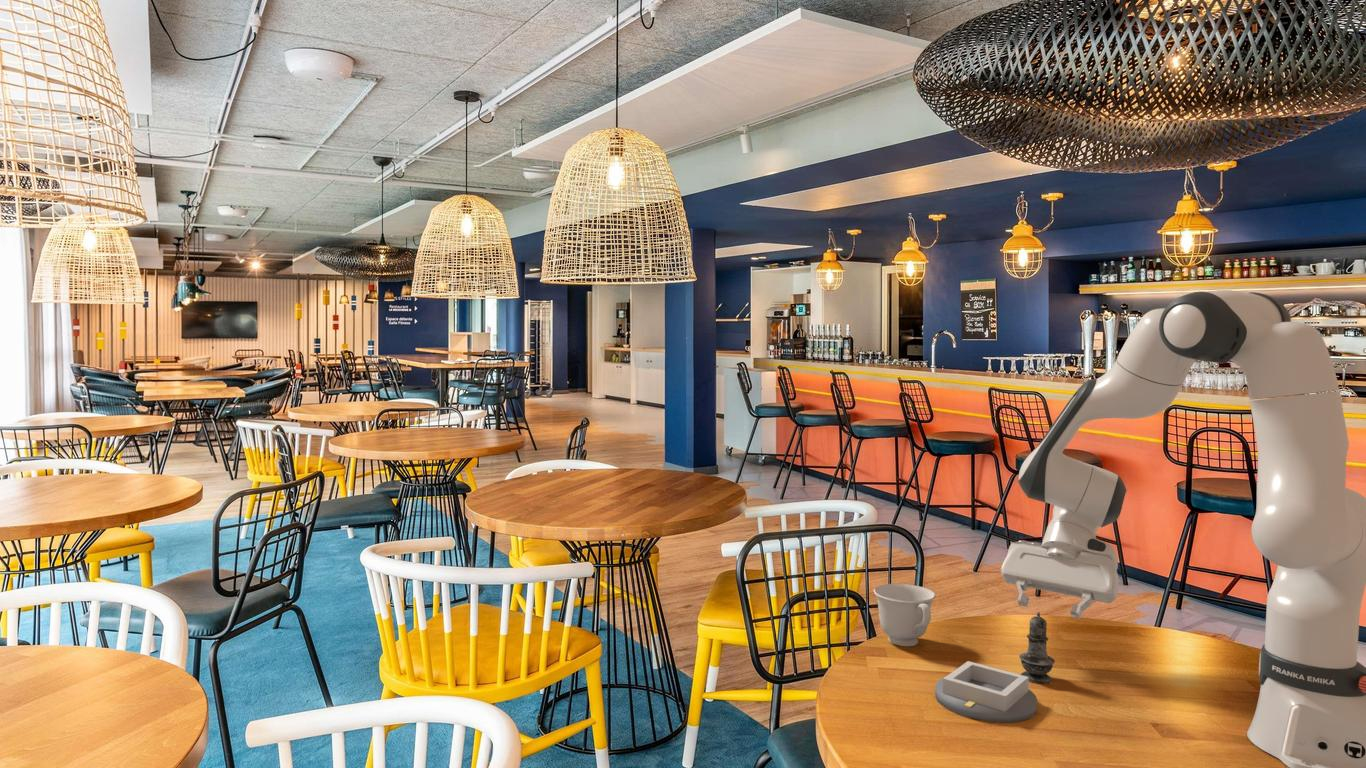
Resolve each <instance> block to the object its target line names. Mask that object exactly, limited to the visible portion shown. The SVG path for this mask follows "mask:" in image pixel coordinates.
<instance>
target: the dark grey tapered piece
mask: <svg viewBox="0 0 1366 768" xmlns="http://www.w3.org/2000/svg"><path fill="white" fill-rule="evenodd" d="M1047 627H1048V622H1047V621H1046V619H1045V618H1044V617H1042V616H1041V613H1040V612H1039V611H1038V612H1037V613H1036V616H1033V617H1031V618H1030V619H1029V631H1028V634H1027V635H1026V637H1027V639H1028V648H1027V651H1026V652H1022V653H1020V654H1019V655H1018V657H1019V659H1020V662H1021V665H1022V668H1023V669H1024V670H1025V671H1023V672H1021V673H1020V675H1023V676H1027V677H1029V680H1028V683H1032V684H1037V685H1046V684H1047V685H1048V684H1051V683H1052V682H1053V678H1052V677H1051V676H1050V675H1049V674H1048V673H1050V672H1051V671H1052V670H1053V665H1054V664H1055V661H1056V660H1055V658H1053V657H1052V656H1050V655H1048V652H1047V641H1049V637H1047Z"/></svg>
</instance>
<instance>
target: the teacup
mask: <svg viewBox="0 0 1366 768" xmlns="http://www.w3.org/2000/svg"><path fill="white" fill-rule="evenodd" d="M873 593H874V595H875V596H876V600H877V608H878V618H879V625H880V628H881V629H882V631H883V632H884V633H885V634H886V635H888V641H889V643H891V644H893V645H895V646H899V647H912V646H916V645H918V643H919V642H918V641H919V640H918V638H919V639H920V638H921V637H922V636H924V635H925V633H926V632H927V629H928V626H929V624H930V623H931V616H932V613H931V607H932V603H933V601H934V599H936V593H935V592H933V590H930V589H929V588H926V587H923V586H920V585H914V584H908V583H888V584H881V585H878V586H876V587H874V589H873Z"/></svg>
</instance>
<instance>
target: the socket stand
mask: <svg viewBox="0 0 1366 768" xmlns="http://www.w3.org/2000/svg"><path fill="white" fill-rule="evenodd" d="M1028 680H1029V677H1027V676H1023V675H1021V674H1018V673H1015V672H1012V671H1007V670H1002V669H999V668H996V667H991V666H989V665H988V666H987V665H985V664H981V663H976V662H974V661H973V662H972V661H971V660H970V661H969V660H967V661H966V662H964V663H963V664H962V665H961V666H959V667H957V669H955V670H953V671H952V672H950V673H949V674H947V675H946V676H944V677H942V678H940V679H938V680H937V682H936V683H935V691H934V692H935V694H934V695H935V696H934V697H935V699H936V700H937V702H938V703H939V704H940V705H941V706H942V707H943V708H945V709H947V710H949V711H950V712H952V713H954V712H955V713H954V714H957V715H959V714H960V715H959V716H962V717H966V718H968V717H969V719H972V718H973V720H976V719H977V720H978V721H981V720H983V721H982V722H987V721H989V722H988V723H997V722H998V724H999V723H1000V724H1003V723H1005V724H1007V723H1009V724H1011V723H1019V722H1023V721H1024V722H1025V721H1027V720H1029V719H1031V718H1033V717H1034V716H1035V715H1036V714H1037V711H1038V698H1037V695H1036V694H1035V693H1034V692H1033V691H1032V690H1030V689H1029V682H1028ZM977 720H976V721H977Z"/></svg>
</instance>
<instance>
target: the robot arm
mask: <svg viewBox="0 0 1366 768" xmlns="http://www.w3.org/2000/svg"><path fill="white" fill-rule="evenodd" d="M1196 361H1201V362H1202V361H1203V362H1210V363H1216V364H1226V363H1228V362H1229V361H1230V362H1232V363H1234V364H1236V365H1237V366H1238V367H1239V368H1240V369H1241V370H1242V372H1243V374H1244V376H1245V380H1246V385H1247V391H1248V397H1249V403H1250V409H1251V416H1252V422H1253V423H1252V424H1253V430H1254V434H1255V440H1256V449H1257V478H1256V509H1255V515H1254V518H1253V521H1252V524H1251V536H1252V541H1253V544H1254V545H1255V547H1256V549H1257V550H1258V551H1259V552H1260V554H1261V555H1262V556H1263V557H1265V558H1266V559H1267V560H1268V561H1269V562H1271V563H1273V564H1275V565H1276V566H1277V568H1276V572H1275V575H1274V579H1273V580H1272V581H1273V582H1272V584H1271V587H1270V588H1269V591H1268V592H1267V597H1266V611H1265V613H1266V615H1265V628H1264V629H1265V631H1264V634H1265V635H1264V644H1262V647H1261V649H1260V652H1259V661H1258V677H1259V683H1260V689H1259V695H1258V701H1257V704H1256V707H1255V708H1256V709H1255V712H1254V714H1253V716H1252V717H1253V718H1252V721H1251V723H1250V725H1249V728H1248V729H1247V731H1246V732H1247V733H1246V735H1247V738H1248V740H1249V741H1250V742H1251V743H1252V744H1254V745H1255V746H1256V747H1257V748H1258V749H1261V750H1262V751H1264V752H1266V753H1268V754H1270V755H1271V756H1273V757H1275V758H1277V759H1278V760H1280V761H1281V762H1282V763H1283V764H1284V765H1286V767H1288V768H1366V666H1364V665H1363V664H1362V663H1360V662H1359V661H1358V646H1359V645H1358V644H1359V633H1360V631H1359V630H1360V616H1361V615H1360V614H1361V608H1362V601H1363V597H1364V593H1365V589H1366V497H1365V496H1364V495H1362V494H1361V493H1359V492H1358V491H1355V490H1353V489H1350V488H1347V487H1346V479H1347V478H1346V474H1347V473H1346V471H1347V469H1346V468H1347V457H1348V451H1349V447H1350V446H1349V445H1350V441H1349V437H1348V429H1347V424H1346V420H1345V415H1344V408H1343V403H1342V398H1341V391H1340V387H1339V381H1338V378H1337V375H1336V374H1337V373H1336V370H1335V367H1334V364H1333V360H1332V358H1331V355H1330V352H1329V350H1328V347H1327V344H1326V343H1325V340H1324V338H1323V336H1322V334H1321V332H1320V331H1319V330H1318V329H1317V328H1315V327H1314V326H1312V325H1310V324H1306V323H1303V322H1297V321H1292V320H1291V315H1290V312H1289V311H1288V309H1287V307H1286V306H1285V305H1284V304H1283V303H1282V302H1281V301H1280V300H1277V299H1276V298H1275V297H1273V296H1270V295H1267V294H1265V293H1260V292H1254V291H1253V292H1252V291H1251V292H1244V291H1236V290H1229V289H1224V290H1223V289H1222V290H1212V291H1210V290H1209V291H1193V292H1191V293H1190V292H1189V293H1187V294H1184V295H1182V296H1179V297H1177V298H1176V299H1174V300H1172V301H1171V302H1170V303H1169V304H1168V305H1167V306H1166V307H1163V308H1155V309H1151V310H1149V311H1147V312H1146V313H1145V314H1143V316H1142V317H1141V318H1140V320H1139V321H1138V322H1137V323H1136V325H1135V326H1134V327H1133V329H1132V331H1131V332H1130V334H1129V335H1128V337H1127V339H1125V342H1124V344H1123V346H1122V347H1121V349H1120V352H1119V354H1118V355H1117V358H1116V359H1115V362H1114V364H1113V365H1112V366H1111V368H1109V369H1108V370H1107V372H1105V373H1104V374H1103V375H1101V376H1100V377H1098V378H1094V379H1093V378H1092V379H1091V378H1090V379H1088V380H1086V381H1085V382H1084V383H1082V385H1080V386H1079V388H1078V389H1077V390H1076V392H1075V393H1074V394H1073V395H1072V396H1071V398H1070V400H1068V402H1067V403H1066V405H1065V406H1064V408H1063V409H1062V410H1061V412H1060V413H1059V414H1058V416H1057V417H1056V419H1055V420H1054V422H1053V424H1052V425H1051V426H1050V427H1049V429H1048V431H1047V432H1046V433H1045V434H1044V436H1043V438H1042V439H1041V440H1040V441H1039V443H1038V444H1037V446H1036V447H1035V448H1034V449H1033V451H1031V452H1030V453H1029V454H1028V456H1027V457H1026V458H1025V460H1024V461H1023V463H1022V464H1021V467H1020V468H1019V472H1018V479H1017V482H1018V484H1019V487H1020V489H1021V490H1022V491H1023V493H1024V495H1025V496H1026V497H1027V498H1028V499H1032V500H1034V501H1038V502H1041V503H1044V504H1045V503H1047V504H1050V505H1052V506H1053V509H1052V519H1051V520H1050V522H1049V523H1048V524H1047V527H1046V531H1045V533H1044V536H1043V540H1042V542H1037V541H1029V540H1028V541H1027V540H1024V539H1020V540H1018V541H1014V542H1012V543H1011V544H1010V545H1009V547H1008V550H1007V554H1006V557H1005V558H1004V560H1003V563H1002V565H1001V567H1000V574H1001V577H1003V579H1004V581H1005V583H1007V584H1009V585H1015V586H1016V587H1017V591H1018V594H1019V595H1018V597H1017V604H1018V606H1021V607H1025V608H1027V607H1028V605H1029V602H1030V598H1029V595H1028V594H1027V593H1024V592H1026V591H1027V589H1028V588H1031V589H1036V590H1039V591H1045V592H1051V593H1056V594H1059V595H1060V594H1061V595H1066V596H1070V597H1075V598H1081V599H1082V600H1081V601H1080V602H1078V604H1074V603H1072V606H1071V609H1070V615H1071V617H1073V618H1077V619H1082V616H1083V615H1082V614H1083V612H1084V611H1085V610H1087V609H1088V608H1089V607H1091V606H1092V605H1093V601H1095V602H1100V603H1105V604H1112V603H1113V602H1114V601H1116V600H1117V596H1118V592H1119V584H1120V583H1119V580H1120V579H1119V574H1118V571H1117V570H1118V567H1119V564H1118V563H1119V562H1118V557H1117V554H1116V552H1115V549H1114V547H1113V546H1112V545H1111V544H1110V543H1108V542H1106V541H1102V540H1100V539H1098V538H1097V532H1098V529H1099V528H1103V527H1106V526H1108V525H1111V524H1113V523H1114V522H1116V521H1117V520H1118V519H1119V517H1120V515H1121V513H1122V509H1123V505H1124V502H1125V501H1124V500H1125V496H1126V494H1127V492H1128V491H1127V487H1126V485H1125V483H1124V481H1123V479H1122V477H1121V476H1120V475H1118V474H1116V473H1114V472H1112V471H1110V470H1107V469H1105V468H1101V467H1098V466H1096V465H1093V464H1089V463H1087V462H1085V461H1081V460H1078V459H1076V458H1074V457H1073V458H1072V457H1070V456H1067V455H1066V454H1064V453H1063V452H1064V450H1066V447H1067V446H1068V445H1069V444H1070V442H1071V441H1072V439H1073V438H1074V436H1076V434H1077V432H1078V431H1079V430H1080V428H1081V427H1082V426H1084V425H1085V424H1086V423H1089V422H1090V421H1094V420H1102V419H1126V420H1128V419H1129V420H1134V419H1135V420H1136V419H1137V420H1138V419H1143V418H1149V417H1152V416H1155V415H1158V414H1160V413H1162V412H1164V411H1165V410H1167V409H1168V408H1169V407H1170V406H1171V404H1172V403H1173V402H1174V400H1175V399H1176V397H1177V395H1178V394H1179V392H1180V390H1181V388H1182V386H1183V384H1184V382H1185V381H1186V378H1187V376H1188V374H1189V372H1190V370H1191V369H1192V367H1193V365H1194V363H1195V362H1196Z"/></svg>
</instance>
